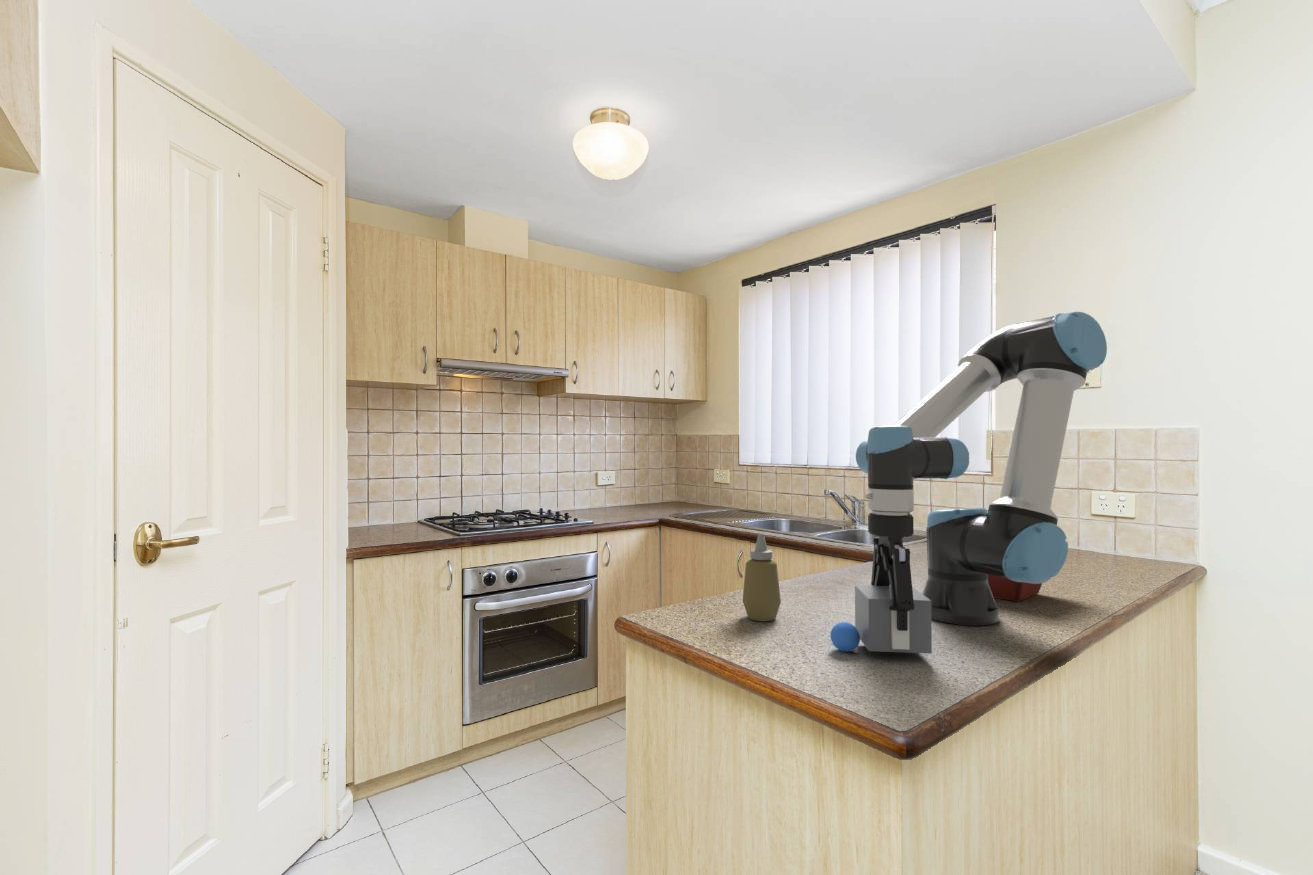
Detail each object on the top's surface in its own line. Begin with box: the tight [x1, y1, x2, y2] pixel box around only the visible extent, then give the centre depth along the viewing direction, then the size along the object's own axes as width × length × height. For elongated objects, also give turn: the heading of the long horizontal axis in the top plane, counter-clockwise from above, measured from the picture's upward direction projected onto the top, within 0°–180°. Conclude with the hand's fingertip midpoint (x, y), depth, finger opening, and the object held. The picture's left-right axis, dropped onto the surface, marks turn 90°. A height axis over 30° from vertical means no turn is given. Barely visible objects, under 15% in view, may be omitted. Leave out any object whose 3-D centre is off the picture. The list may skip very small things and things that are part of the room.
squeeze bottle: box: [742, 532, 782, 622], centre depth 126 cm, size 8×8×18 cm
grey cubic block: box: [854, 584, 933, 654], centre depth 105 cm, size 10×10×9 cm
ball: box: [830, 621, 861, 653], centre depth 106 cm, size 5×5×5 cm
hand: (891, 638), depth 105 cm, fingers closed on grey cubic block, 10 cm apart
